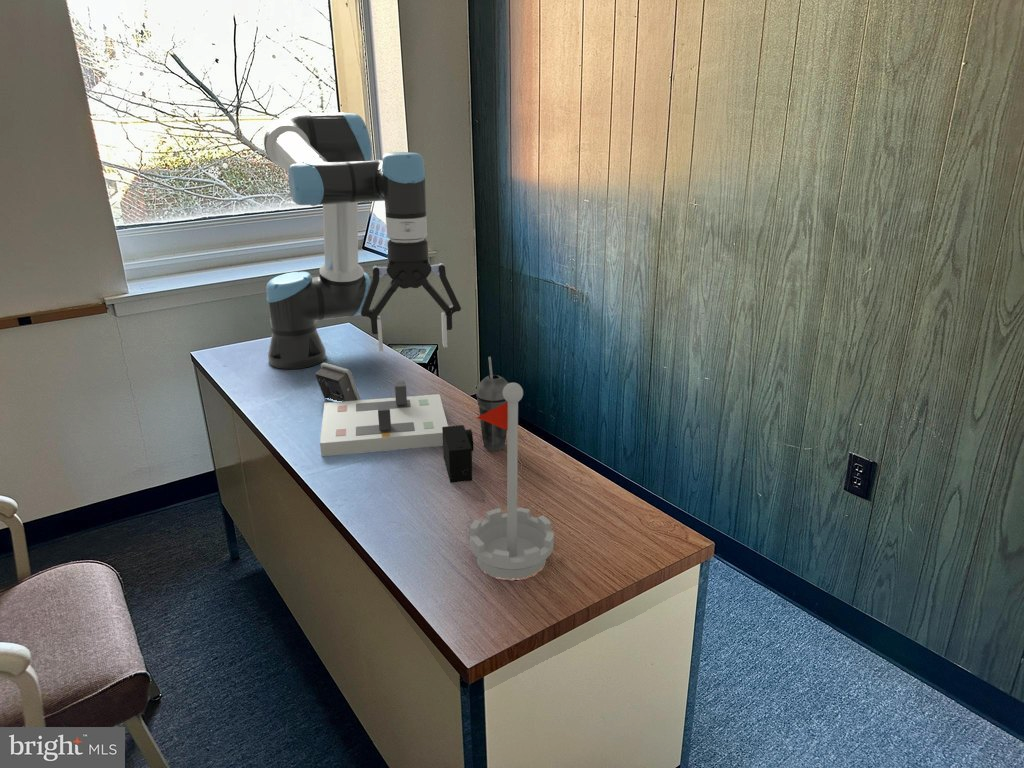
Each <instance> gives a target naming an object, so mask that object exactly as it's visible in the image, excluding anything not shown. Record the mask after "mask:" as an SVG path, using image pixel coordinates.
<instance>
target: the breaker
mask: <svg viewBox="0 0 1024 768" xmlns="http://www.w3.org/2000/svg"><path fill="white" fill-rule="evenodd" d="M393 383H394V398H395V399H396V405H404V404H407V397H408V396H407V385H406V383H407V382H406V380H396V381H393Z"/></svg>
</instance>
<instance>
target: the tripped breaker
mask: <svg viewBox="0 0 1024 768" xmlns="http://www.w3.org/2000/svg"><path fill="white" fill-rule="evenodd" d="M378 418H379V430H389V429H391V419H390V406H389V404H378Z"/></svg>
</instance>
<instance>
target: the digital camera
mask: <svg viewBox="0 0 1024 768" xmlns="http://www.w3.org/2000/svg"><path fill="white" fill-rule="evenodd" d="M442 433H443V446H442V451H443V452H442V454H443V461H444V465H445V468H446V473H447V476H448V478H449V483H450V484H453V483H454V484H455V483H462V482H471V481H473V452H474V436H473V432H472V429H471V428H470V429H469V428H468V429H466V428H465V426H464V425H463V424H462V425H461V424H460V425H448V426H447V427H442Z"/></svg>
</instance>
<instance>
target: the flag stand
mask: <svg viewBox="0 0 1024 768" xmlns="http://www.w3.org/2000/svg"><path fill="white" fill-rule="evenodd" d="M523 396H524V389H523V388H522V386H521V385H520V384H519V383H517V382H508V384H507V385H506V386H505V387H504V389H503V397H504V399H505V400H506V401H507V402H506V403H504V404H503V405H501V406H499V407H497V408H495V409H493V410H491V411H489V412H487V413H485V414H483V415H481V416H480V415H478V416H476V419H478V420H480V419H481V420H483V421H486V422H488V423H491V424H493V425H496V426H498V427H500V428H503V429H505V430H507V433H506V441H507V442H506V443H507V445H506V446H507V448H506V450H507V451H506V456H507V457H506V458H507V461H506V463H507V464H506V466H507V469H506V470H507V471H506V474H507V476H506V477H507V478H506V479H507V480H506V483H507V485H506V486H507V487H506V489H507V492H506V493H507V495H506V496H507V497H506V501H507V502H506V505H507V507H506V511H507V512H506V513H502V509H501V508H494V509H491V510H488V511H486V512H485V518H484V519H483V520H478V519H474V520H473V522H472V523H471V525H470V528H469V531H470V533H469V535H470V536H469V547H470V550H471V552H472V553H473V555H474V556H475V557H476V562H477V565H479V566H480V567H479V566H478V567H479V568H481V569H482V570H483V571H485V572H486V573H488V574H489V575H492V576H495V577H500V578H509V579H512V578H515V579H517V578H523V577H527V576H529V575H532V574H534V573H536V572H537V571H539V570H540V569H541V568H542V567H543V566H544V564H545V562H546V563H547V561H546V559H548V557H549V556H550V555H551V554H552V552H553V551H554V545H555V532H554V531H553V530H552V522H551V520H549V518H548V517H546V516H544V515H543V514H542V515H540V516H538V517H535V516H532V515H531V509H530V508H524V507H518V459H519V456H518V454H519V451H518V449H519V447H518V446H519V444H518V443H519V442H518V441H519V437H518V436H519V402H520V401H522V398H523ZM481 569H480V570H481ZM482 570H481V571H482ZM483 571H482V572H483ZM486 573H485V574H486ZM489 575H488V576H489Z"/></svg>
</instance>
